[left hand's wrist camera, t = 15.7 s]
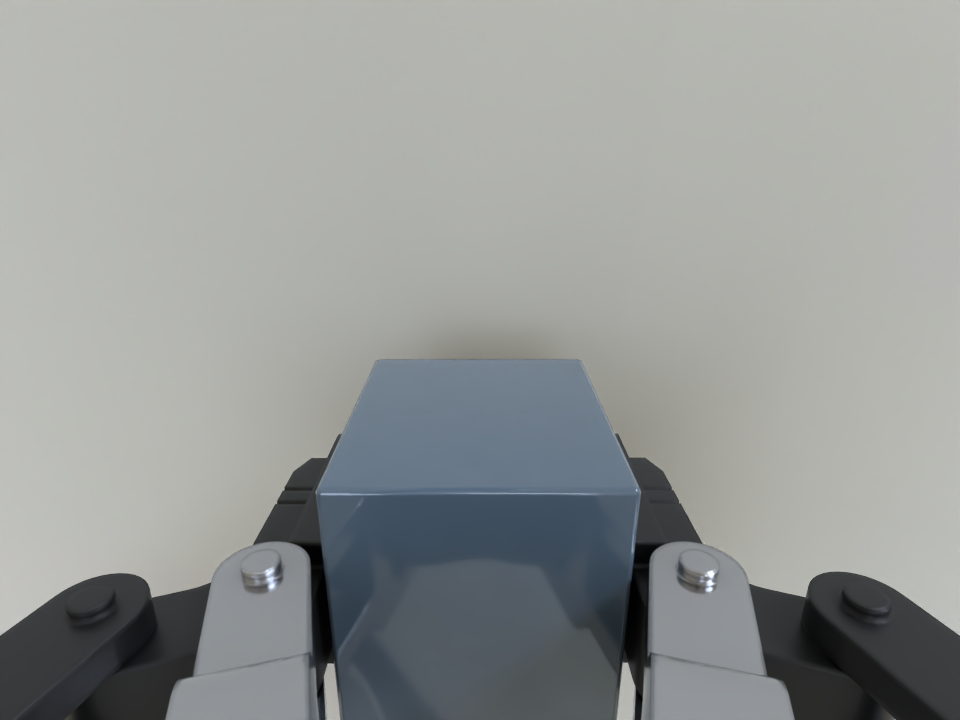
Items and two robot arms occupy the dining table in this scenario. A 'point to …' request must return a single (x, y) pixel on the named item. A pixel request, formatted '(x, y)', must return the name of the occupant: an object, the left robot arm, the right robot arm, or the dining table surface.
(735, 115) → the dining table surface
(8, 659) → the left robot arm
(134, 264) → the dining table surface
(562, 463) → the block
